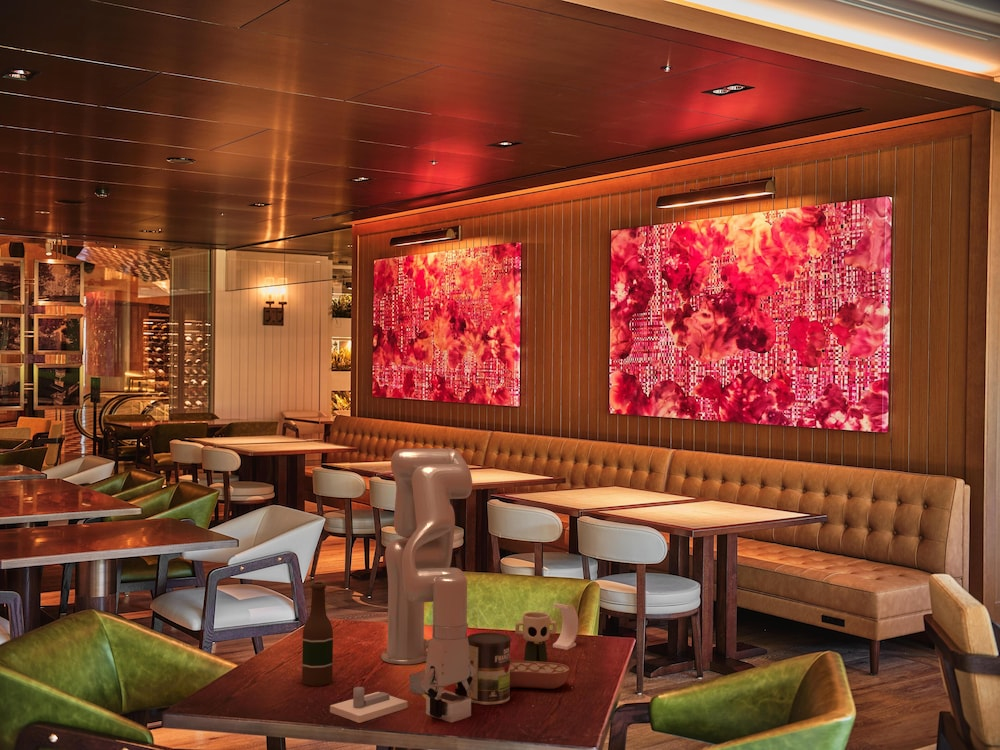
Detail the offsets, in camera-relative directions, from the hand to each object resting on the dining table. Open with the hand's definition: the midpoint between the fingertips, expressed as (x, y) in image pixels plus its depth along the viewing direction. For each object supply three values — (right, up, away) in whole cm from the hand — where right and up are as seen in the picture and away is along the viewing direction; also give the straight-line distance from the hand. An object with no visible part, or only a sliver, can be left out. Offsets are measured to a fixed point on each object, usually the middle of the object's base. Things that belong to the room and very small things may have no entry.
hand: (448, 711), depth 226 cm
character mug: (+21, -1, +41) cm, 46 cm away
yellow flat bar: (-4, -1, +9) cm, 10 cm away
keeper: (-18, -1, +3) cm, 18 cm away
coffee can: (+9, -1, +13) cm, 15 cm away
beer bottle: (-33, -1, +23) cm, 40 cm away
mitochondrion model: (+16, -1, +22) cm, 28 cm away
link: (0, -1, 0) cm, 1 cm away
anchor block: (-6, -1, +17) cm, 18 cm away
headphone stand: (+30, -1, +60) cm, 66 cm away
